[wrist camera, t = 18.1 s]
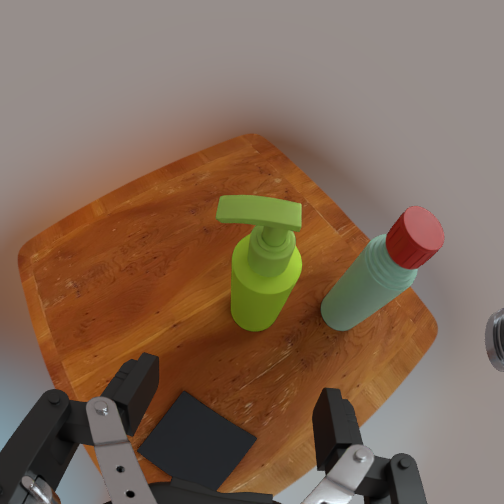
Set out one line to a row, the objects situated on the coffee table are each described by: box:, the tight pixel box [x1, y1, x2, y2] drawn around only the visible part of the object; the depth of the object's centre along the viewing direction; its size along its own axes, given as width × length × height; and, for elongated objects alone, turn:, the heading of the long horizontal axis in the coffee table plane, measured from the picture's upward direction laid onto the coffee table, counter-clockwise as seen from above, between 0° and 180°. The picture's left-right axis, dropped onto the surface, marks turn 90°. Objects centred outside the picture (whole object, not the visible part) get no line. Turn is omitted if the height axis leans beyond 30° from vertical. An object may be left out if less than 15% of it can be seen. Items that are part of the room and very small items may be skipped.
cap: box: [386, 206, 444, 270], centre depth 20 cm, size 4×4×3 cm
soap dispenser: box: [216, 195, 302, 331], centre depth 27 cm, size 6×7×20 cm
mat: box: [137, 391, 257, 491], centre depth 26 cm, size 10×10×1 cm
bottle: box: [321, 234, 418, 331], centre depth 28 cm, size 6×6×19 cm
